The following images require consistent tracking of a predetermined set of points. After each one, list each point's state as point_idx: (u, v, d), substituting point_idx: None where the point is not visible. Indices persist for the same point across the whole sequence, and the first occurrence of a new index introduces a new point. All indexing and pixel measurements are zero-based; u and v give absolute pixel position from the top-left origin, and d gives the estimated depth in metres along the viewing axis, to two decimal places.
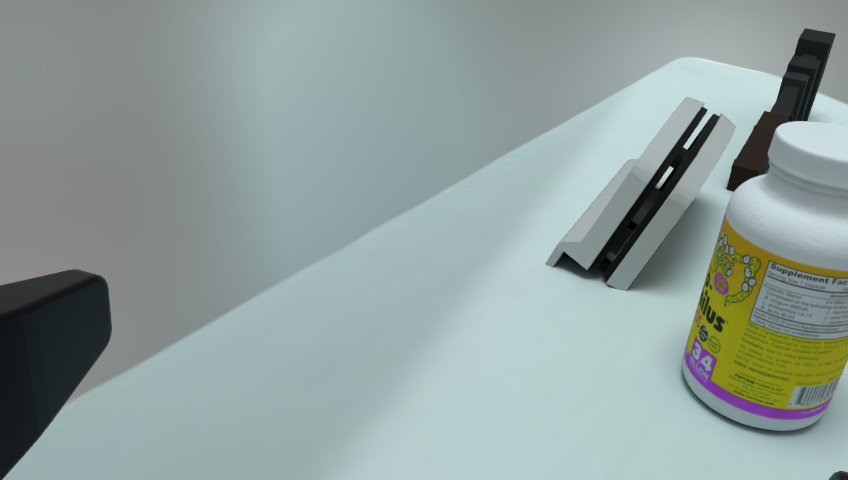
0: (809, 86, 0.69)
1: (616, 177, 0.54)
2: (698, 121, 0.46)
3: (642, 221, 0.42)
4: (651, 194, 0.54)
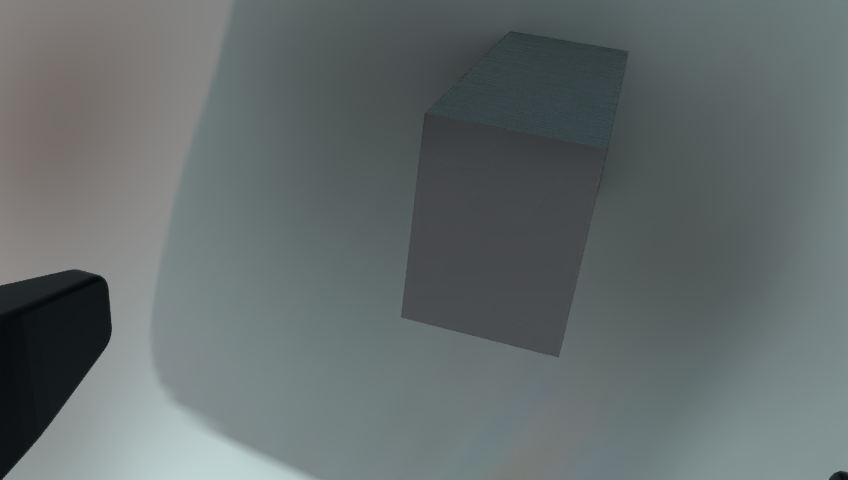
0: None
1: None
2: None
3: None
4: None
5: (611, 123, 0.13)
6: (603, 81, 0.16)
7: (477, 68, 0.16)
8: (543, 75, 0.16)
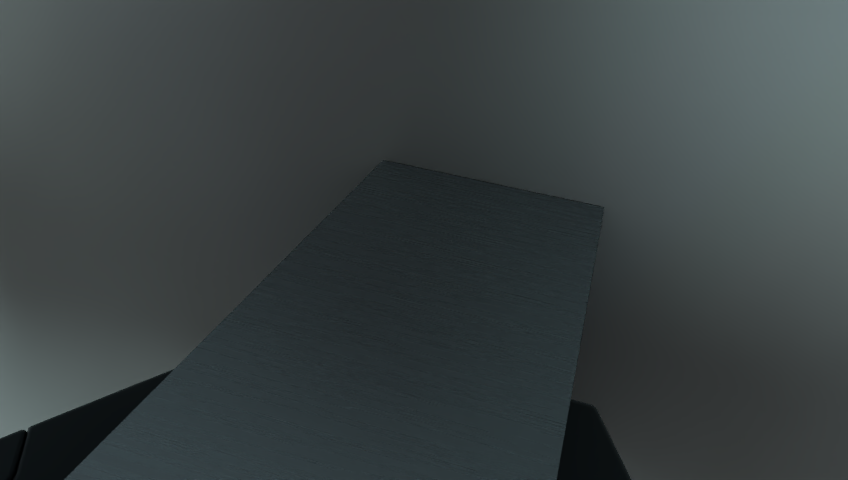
0: None
1: None
2: None
3: None
4: None
5: None
6: (535, 349, 0.07)
7: (230, 326, 0.06)
8: (391, 340, 0.07)
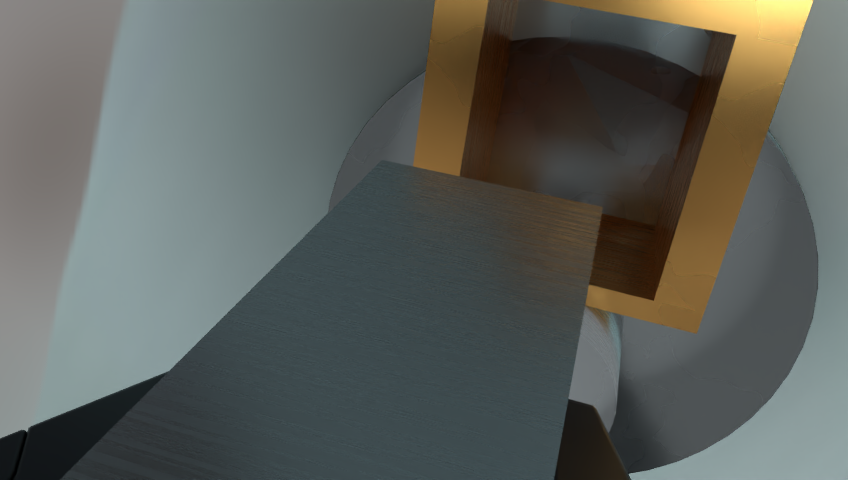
0: None
1: None
2: None
3: None
4: None
5: None
6: (533, 348, 0.07)
7: (227, 326, 0.06)
8: (389, 339, 0.07)
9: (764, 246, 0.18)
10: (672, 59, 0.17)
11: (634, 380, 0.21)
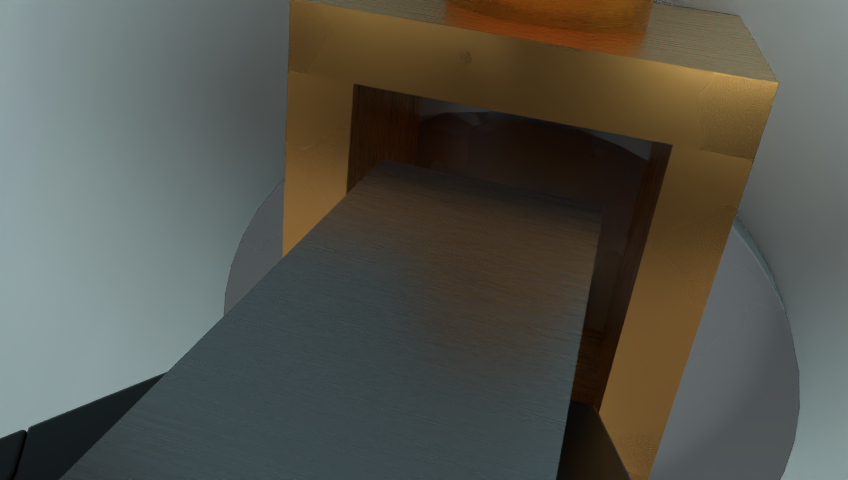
0: None
1: None
2: None
3: None
4: None
5: None
6: (535, 347, 0.07)
7: (228, 325, 0.06)
8: (390, 338, 0.07)
9: (733, 358, 0.15)
10: (613, 140, 0.14)
11: None
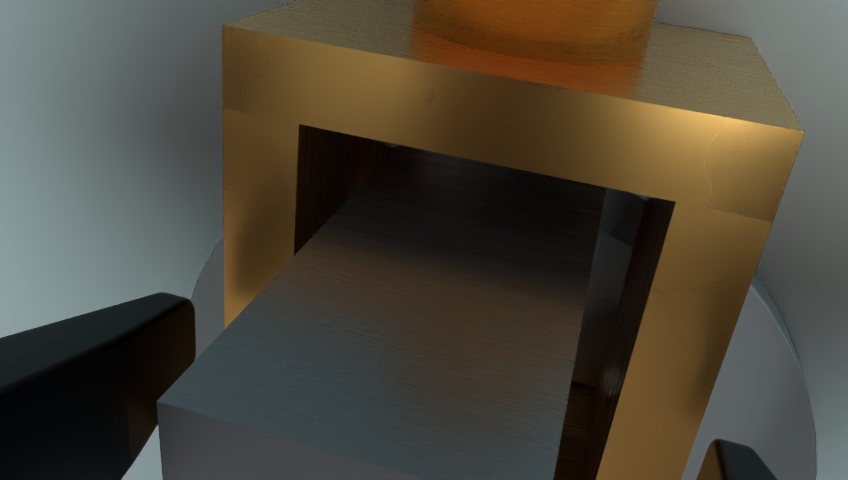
0: None
1: None
2: None
3: None
4: None
5: (567, 384, 0.06)
6: (565, 231, 0.09)
7: (341, 215, 0.09)
8: (459, 224, 0.09)
9: (742, 419, 0.14)
10: None
11: None
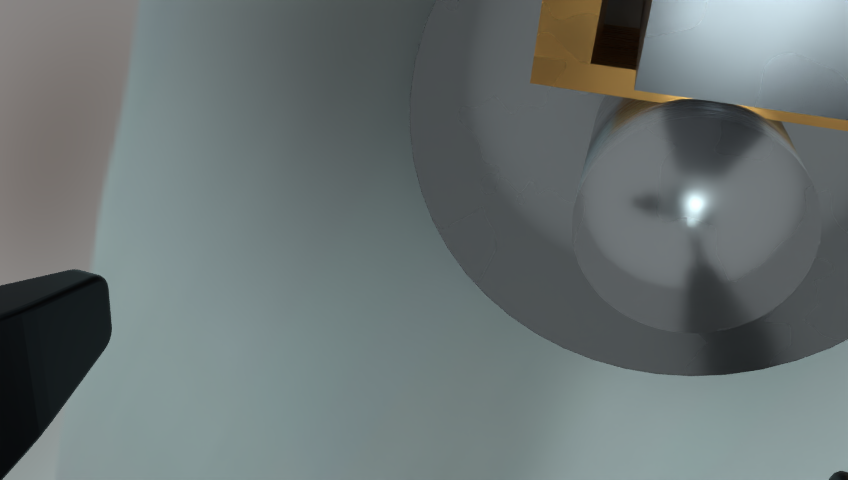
0: None
1: None
2: None
3: None
4: None
5: None
6: None
7: None
8: None
9: None
10: None
11: None
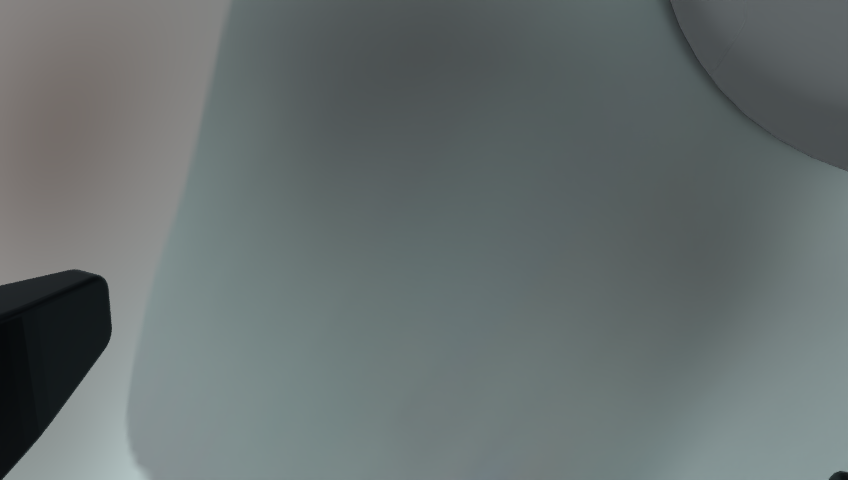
0: None
1: None
2: None
3: None
4: None
5: None
6: None
7: None
8: None
9: None
10: None
11: None
